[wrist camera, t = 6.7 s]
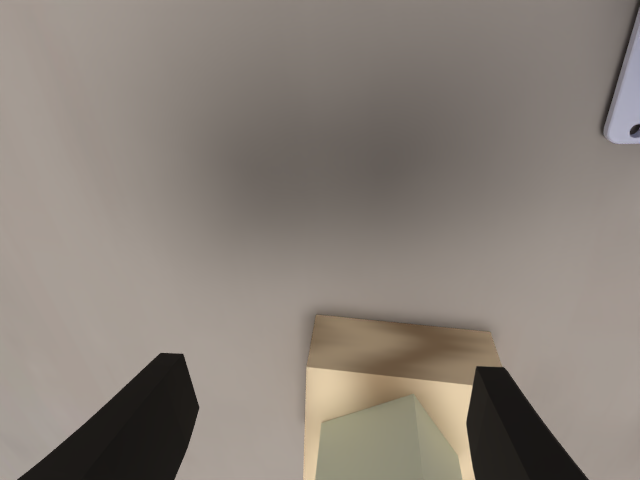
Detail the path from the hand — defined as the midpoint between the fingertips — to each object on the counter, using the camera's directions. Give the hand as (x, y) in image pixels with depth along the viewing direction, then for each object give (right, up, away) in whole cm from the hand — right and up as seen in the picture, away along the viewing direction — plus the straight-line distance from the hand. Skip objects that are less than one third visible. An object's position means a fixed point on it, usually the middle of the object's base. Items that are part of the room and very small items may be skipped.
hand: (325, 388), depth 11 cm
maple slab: (+4, -4, +14) cm, 15 cm away
